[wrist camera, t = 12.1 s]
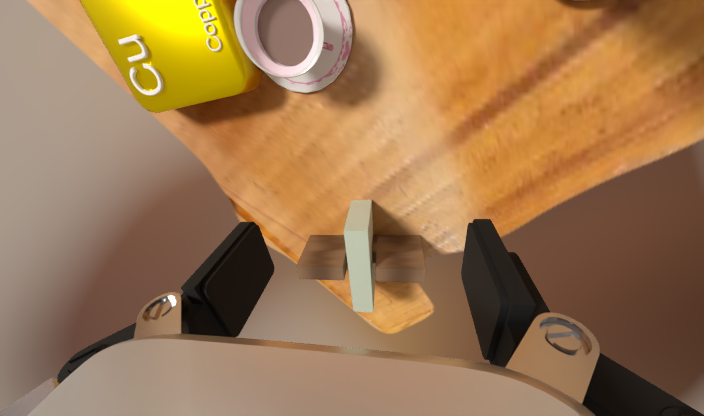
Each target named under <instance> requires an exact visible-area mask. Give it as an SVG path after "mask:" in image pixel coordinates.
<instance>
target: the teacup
mask: <svg viewBox="0 0 704 416" xmlns="http://www.w3.org/2000/svg"><path fill="white" fill-rule="evenodd" d="M234 25H235V30H236V34H237V37H238V40H239V42H240V44H241V46H242V48H243V50H244V52H245V53H246V55H247V56H248V57H249V58H250V60H251V61H252V62H253V63H254V64H255V65H256V66H258V67H259V68H260V69H262V70H263V71H264V72H265V73H266V74H267V75H268V76H269V77H270V78H271V79H272V80H273V81H274V82H275V83H276V84H278V85H280V86H282V87H284V88H286V89H288V90H290V91H295V92H302V93H309V92H313V91H318V90H321V89H323V88H324V87H326V86H327V85H329V84H331V83H332V82H334V81H335V79H336V78H337V77H338V76H339V74H340V73H341V72H342V70H343V69H344V68H345V65H346V62H347V60H348V57H349V55H350V52H351V45H352V35H353V28H352V22H351V16H350V10H349V7H348V5H347V3H346V0H237V1H236V5H235V9H234Z"/></svg>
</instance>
